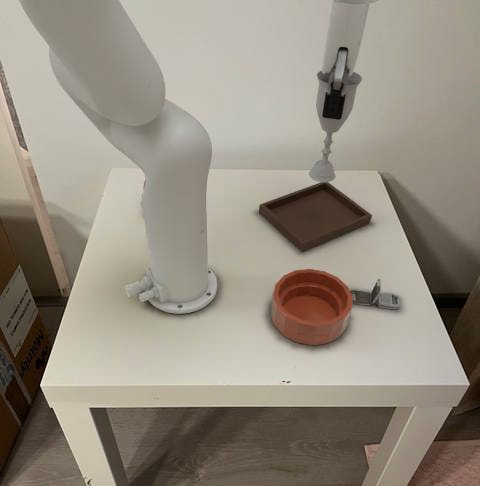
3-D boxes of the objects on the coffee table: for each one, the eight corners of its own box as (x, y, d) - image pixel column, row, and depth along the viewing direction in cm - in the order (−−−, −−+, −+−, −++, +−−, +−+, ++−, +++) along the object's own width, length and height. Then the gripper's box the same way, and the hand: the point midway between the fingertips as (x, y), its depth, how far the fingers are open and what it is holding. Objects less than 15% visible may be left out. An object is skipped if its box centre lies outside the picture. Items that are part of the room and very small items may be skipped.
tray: (302, 252, 92) (303, 243, 91) (258, 213, 100) (259, 204, 99) (369, 223, 99) (372, 215, 98) (324, 188, 107) (325, 180, 106)
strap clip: (398, 298, 85) (404, 280, 82) (398, 310, 83) (406, 293, 80) (349, 291, 86) (354, 273, 83) (348, 303, 84) (354, 285, 81)
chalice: (340, 166, 94) (360, 70, 81) (342, 186, 90) (363, 87, 77) (303, 164, 95) (316, 67, 81) (302, 183, 90) (317, 83, 77)
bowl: (302, 357, 76) (306, 337, 72) (256, 307, 83) (258, 286, 79) (362, 325, 80) (369, 305, 77) (314, 280, 87) (318, 259, 84)
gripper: (333, -33, 76) (316, 84, 89) (322, -1, 64) (305, 129, 78) (382, -29, 75) (358, 89, 88) (380, 5, 63) (352, 135, 77)
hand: (333, 107), depth 83 cm, fingers closed on chalice, 6 cm apart
